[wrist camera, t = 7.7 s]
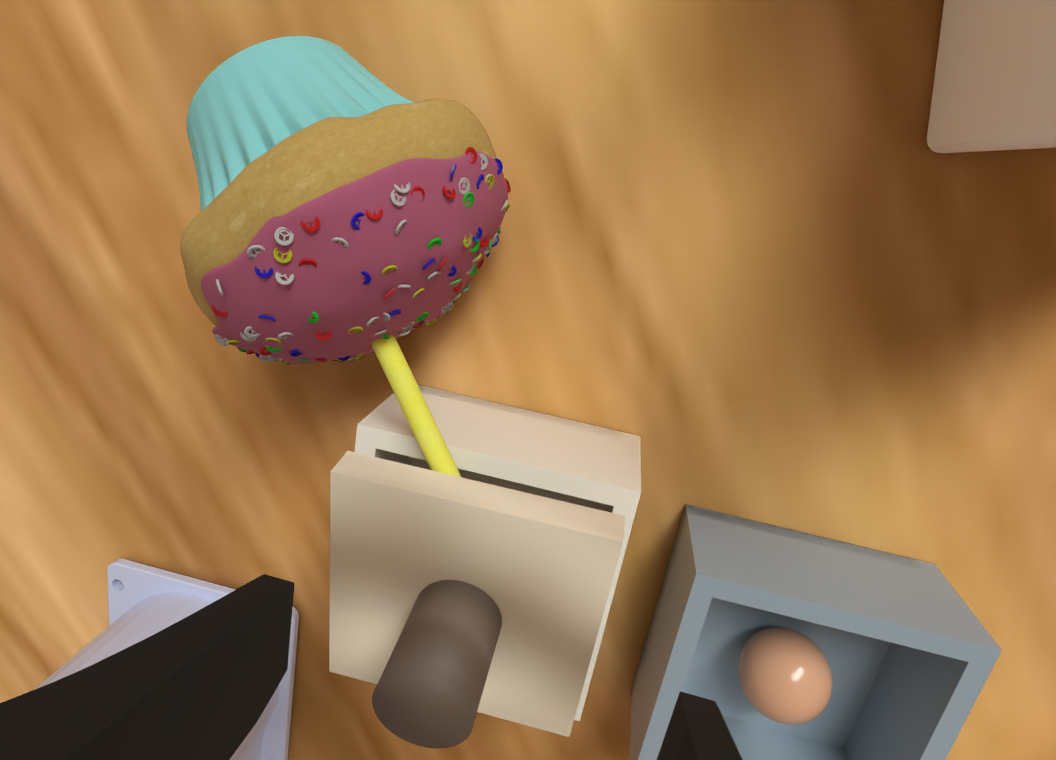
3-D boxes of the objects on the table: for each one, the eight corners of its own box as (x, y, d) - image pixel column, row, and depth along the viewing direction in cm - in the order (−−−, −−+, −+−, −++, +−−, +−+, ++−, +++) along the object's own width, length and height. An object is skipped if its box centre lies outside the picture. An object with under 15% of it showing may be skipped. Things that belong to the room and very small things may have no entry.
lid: (573, 707, 19) (554, 848, 16) (343, 645, 20) (276, 766, 17) (625, 515, 16) (615, 640, 13) (347, 450, 17) (264, 551, 13)
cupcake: (334, 196, 23) (510, 483, 22) (66, 217, 17) (297, 627, 15) (466, -6, 17) (712, 363, 16) (142, -93, 11) (511, 507, 10)
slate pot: (850, 751, 23) (891, 862, 19) (630, 691, 24) (629, 787, 20) (934, 563, 20) (1001, 649, 17) (685, 504, 21) (696, 573, 18)
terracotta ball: (803, 688, 22) (826, 757, 19) (721, 666, 22) (733, 731, 20) (830, 621, 21) (858, 684, 18) (744, 599, 21) (760, 658, 19)
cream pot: (589, 634, 23) (579, 721, 20) (381, 579, 24) (333, 652, 20) (640, 436, 21) (641, 491, 17) (406, 382, 22) (357, 424, 18)
